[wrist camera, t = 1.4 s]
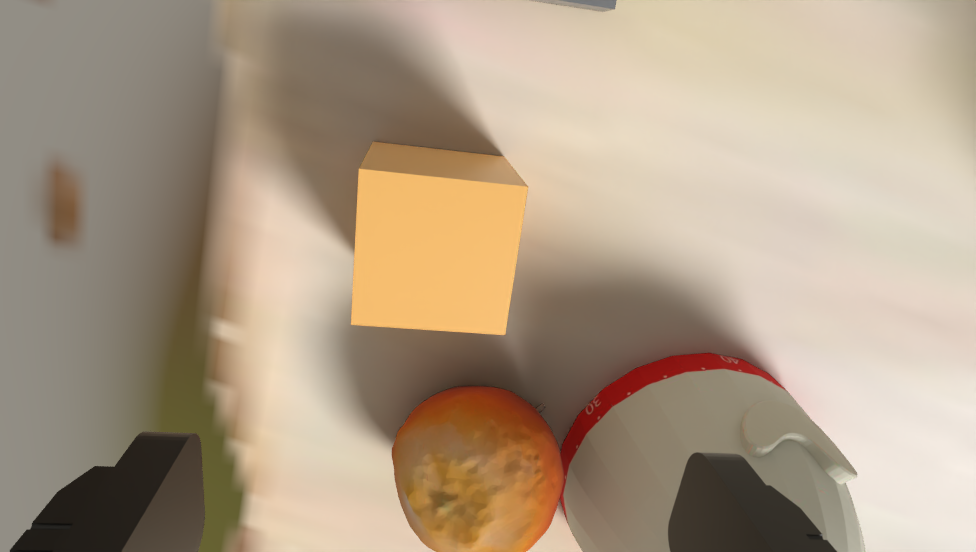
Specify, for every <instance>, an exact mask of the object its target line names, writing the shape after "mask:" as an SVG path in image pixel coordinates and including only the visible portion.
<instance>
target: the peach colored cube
mask: <svg viewBox="0 0 976 552" xmlns="http://www.w3.org/2000/svg"><path fill="white" fill-rule="evenodd" d="M527 191H528V186H527V185H526V183H525V182H524V181H523V180H522V178H521V177H520V176H519V175H518V173H517V172H516V171H515V170H514V168H513V167H512V166H511V164H510V163H509V162H508V161H507V159H506V158H505V157H504V156H495V155H487V154H478V153H469V152H460V151H451V150H443V149H434V148H425V147H416V146H407V145H399V144H390V143H381V142H373V143H372V144H371V146H370V148H369V150H368V152H367V154H366V156H365V158H364V160H363V162H362V163H361V165H360V167H359V174H358V194H357V214H356V234H355V253H354V273H353V293H352V313H351V325H361V326H376V327H391V328H406V329H421V330H436V331H451V332H465V333H480V334H495V335H505V333H506V326H507V320H508V313H509V307H510V300H511V294H512V288H513V281H514V275H515V268H516V262H517V256H518V249H519V243H520V236H521V230H522V223H523V217H524V211H525V204H526V198H527Z"/></svg>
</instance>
